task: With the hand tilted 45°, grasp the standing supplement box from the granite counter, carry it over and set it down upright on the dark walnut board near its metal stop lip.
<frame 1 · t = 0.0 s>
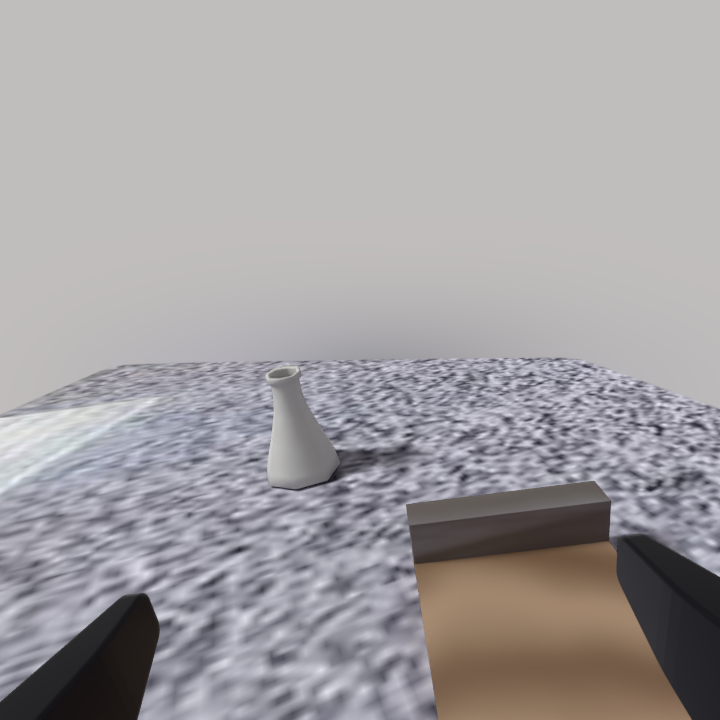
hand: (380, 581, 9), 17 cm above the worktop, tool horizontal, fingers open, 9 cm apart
flask: (304, 470, 43), on the worktop
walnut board: (566, 705, 21), on the worktop
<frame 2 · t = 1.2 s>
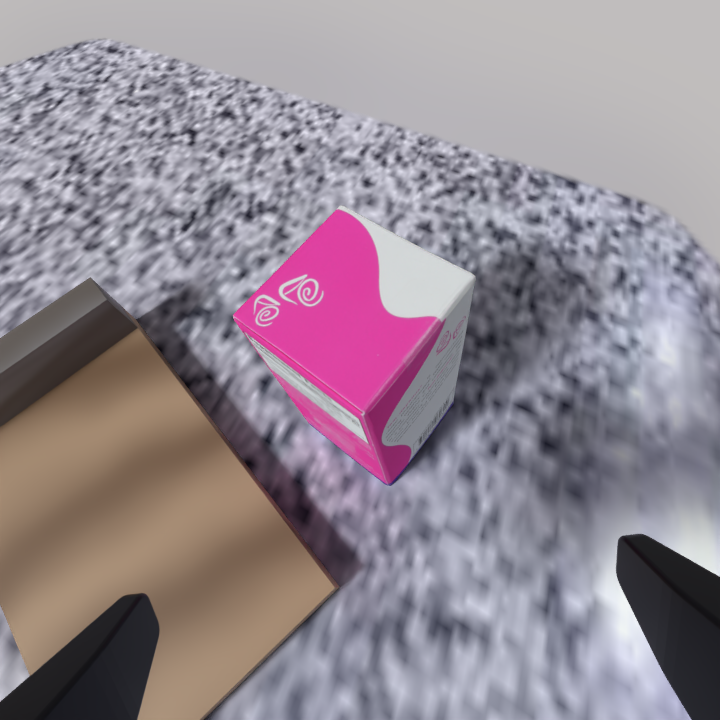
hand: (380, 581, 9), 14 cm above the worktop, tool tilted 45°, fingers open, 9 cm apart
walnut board: (127, 509, 23), on the worktop
supplement box: (378, 413, 24), on the worktop
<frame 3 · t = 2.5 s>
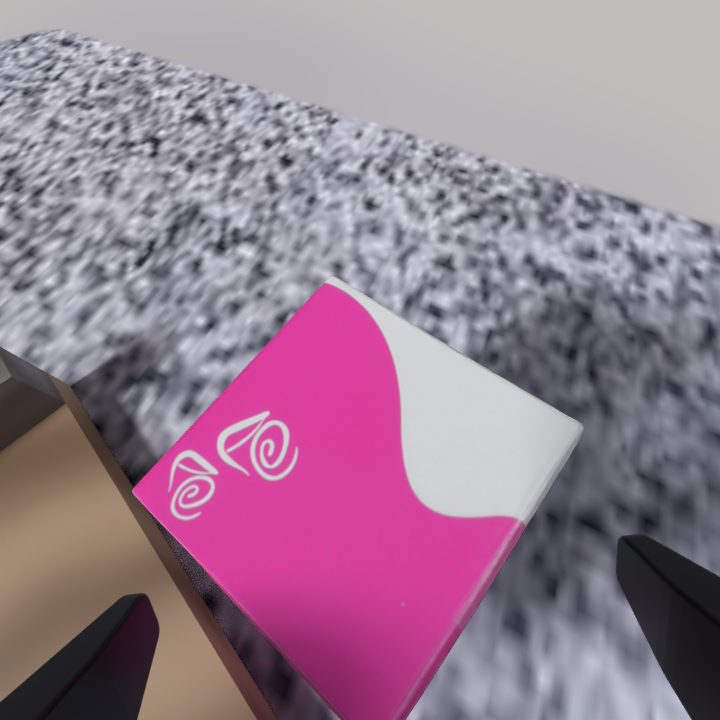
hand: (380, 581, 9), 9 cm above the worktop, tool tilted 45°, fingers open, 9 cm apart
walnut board: (39, 670, 17), on the worktop
supplement box: (388, 527, 18), on the worktop
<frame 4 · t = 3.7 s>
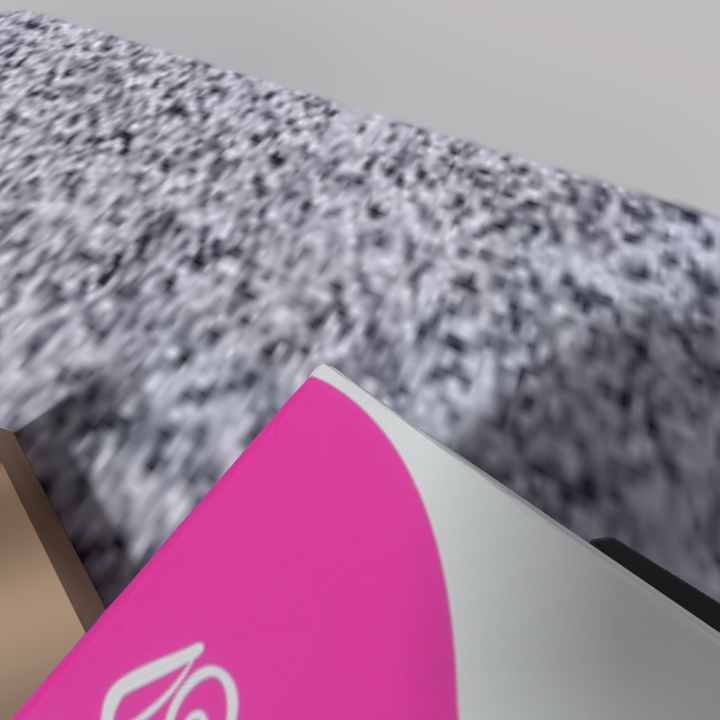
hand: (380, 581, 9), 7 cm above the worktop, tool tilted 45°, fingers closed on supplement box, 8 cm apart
supplement box: (400, 626, 14), on the worktop, touching gripper
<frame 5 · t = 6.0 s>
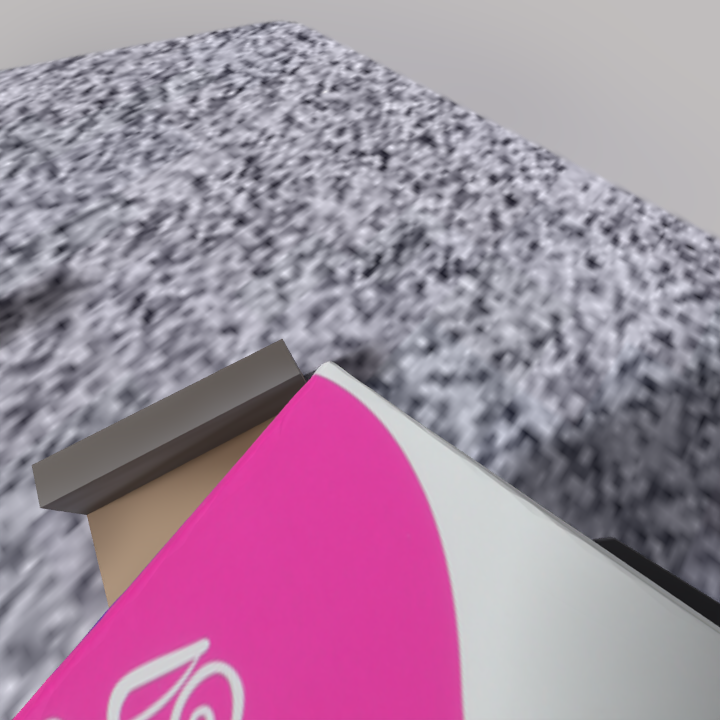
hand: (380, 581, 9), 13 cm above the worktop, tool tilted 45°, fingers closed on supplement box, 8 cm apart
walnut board: (275, 616, 20), on the worktop
supplement box: (400, 624, 14), point 6 cm above the worktop, touching gripper
when the fingers open (9 cm above the worktop, at t = 8.1 s): supplement box drops 1 cm, resting on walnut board.
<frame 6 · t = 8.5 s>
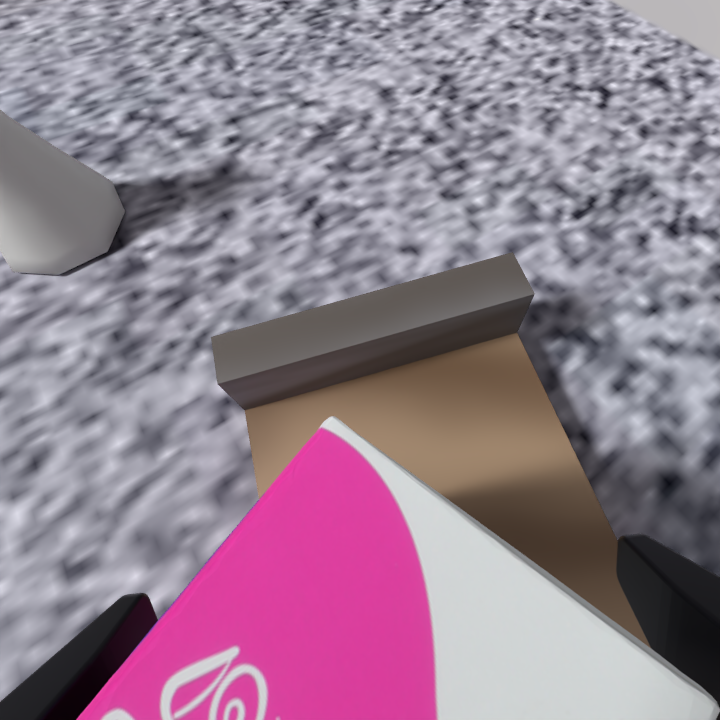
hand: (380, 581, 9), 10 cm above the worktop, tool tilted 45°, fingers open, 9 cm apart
flask: (70, 230, 27), on the worktop
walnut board: (442, 572, 17), on the worktop
supplement box: (397, 628, 15), point 1 cm above the worktop, touching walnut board
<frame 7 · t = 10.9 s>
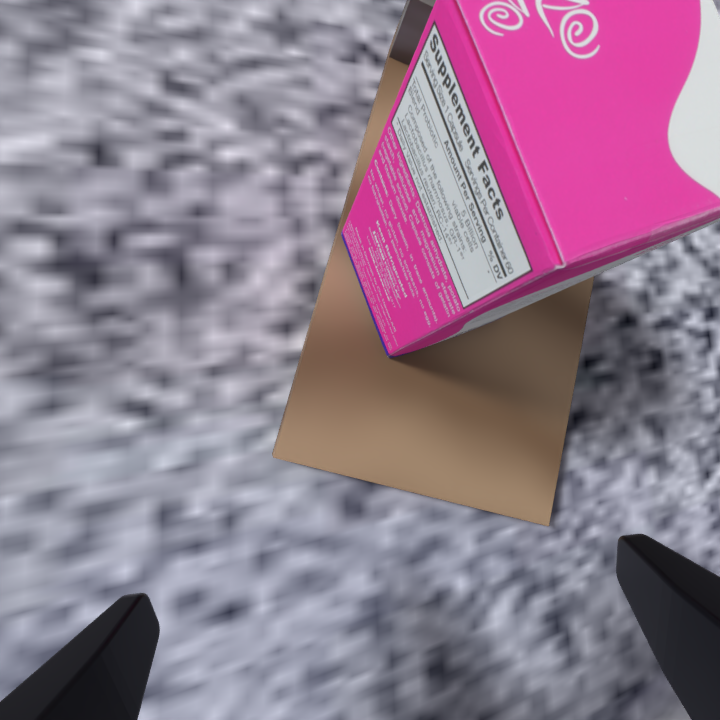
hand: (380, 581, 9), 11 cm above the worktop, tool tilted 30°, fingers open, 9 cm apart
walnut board: (457, 275, 21), on the worktop
supplement box: (419, 276, 19), point 1 cm above the worktop, touching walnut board
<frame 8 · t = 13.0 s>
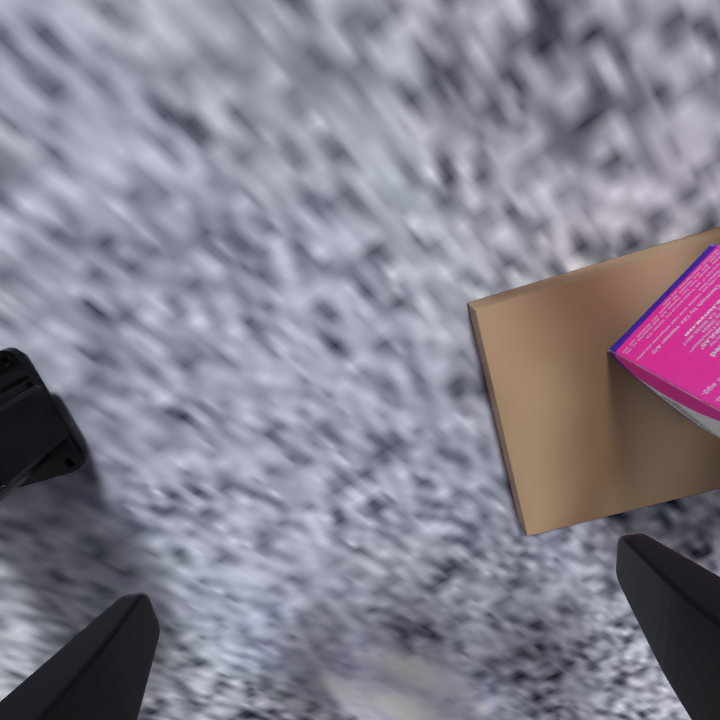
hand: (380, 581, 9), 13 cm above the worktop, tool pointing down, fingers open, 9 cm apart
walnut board: (706, 360, 21), on the worktop
supplement box: (697, 334, 19), point 1 cm above the worktop, touching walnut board
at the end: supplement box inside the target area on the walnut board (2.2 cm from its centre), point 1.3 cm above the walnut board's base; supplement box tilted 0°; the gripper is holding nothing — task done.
